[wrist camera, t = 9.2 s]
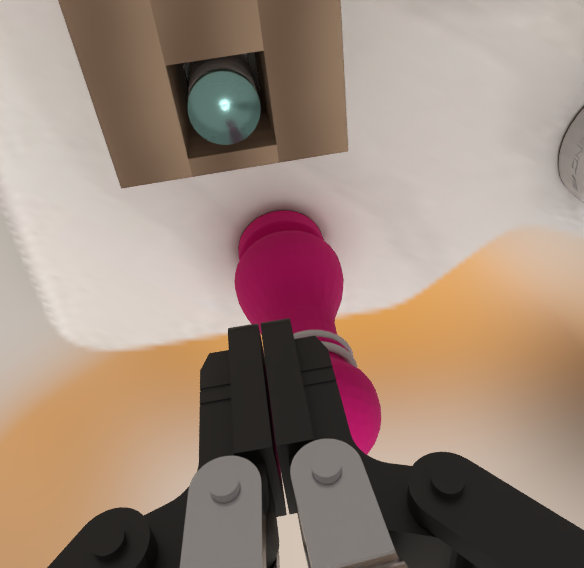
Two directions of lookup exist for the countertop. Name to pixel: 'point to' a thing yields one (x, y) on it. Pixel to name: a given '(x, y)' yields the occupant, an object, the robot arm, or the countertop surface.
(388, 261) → the countertop surface
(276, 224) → the pepper mill
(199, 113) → the peg
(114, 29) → the walnut block
